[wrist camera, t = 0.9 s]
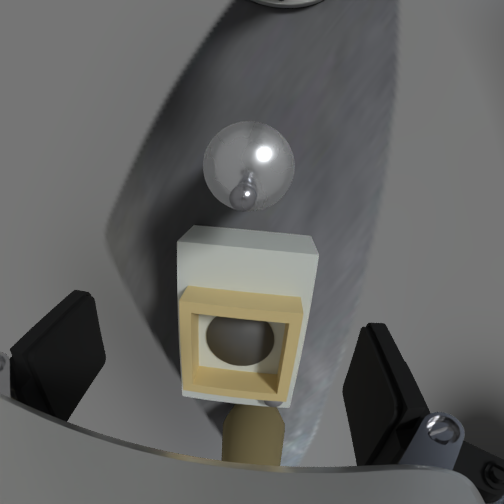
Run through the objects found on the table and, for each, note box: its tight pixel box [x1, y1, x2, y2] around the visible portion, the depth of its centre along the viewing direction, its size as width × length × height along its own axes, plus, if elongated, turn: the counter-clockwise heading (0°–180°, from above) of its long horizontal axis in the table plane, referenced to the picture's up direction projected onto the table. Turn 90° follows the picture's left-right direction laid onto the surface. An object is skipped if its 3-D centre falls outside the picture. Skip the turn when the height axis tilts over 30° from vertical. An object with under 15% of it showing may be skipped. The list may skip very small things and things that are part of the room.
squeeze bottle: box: [222, 404, 285, 466], centre depth 31 cm, size 8×8×18 cm
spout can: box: [203, 121, 295, 211], centre depth 23 cm, size 6×6×14 cm
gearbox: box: [177, 225, 319, 408], centre depth 30 cm, size 18×12×9 cm, turn 175°
